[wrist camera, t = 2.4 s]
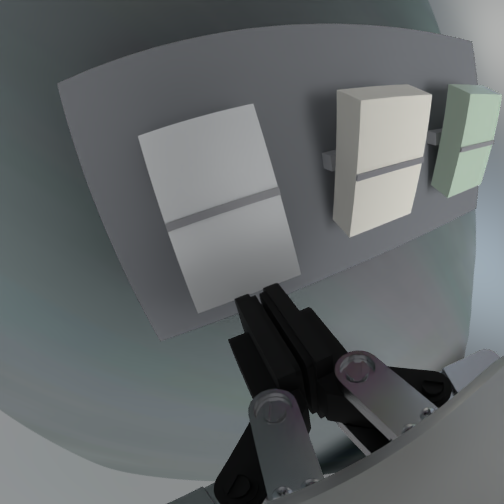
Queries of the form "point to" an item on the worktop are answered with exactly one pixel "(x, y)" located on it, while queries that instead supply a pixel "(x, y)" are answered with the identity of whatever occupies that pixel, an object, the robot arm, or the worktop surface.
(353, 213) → the rocker ivory
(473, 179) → the rocker sage
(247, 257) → the rocker grey
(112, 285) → the worktop surface
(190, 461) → the worktop surface
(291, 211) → the console
